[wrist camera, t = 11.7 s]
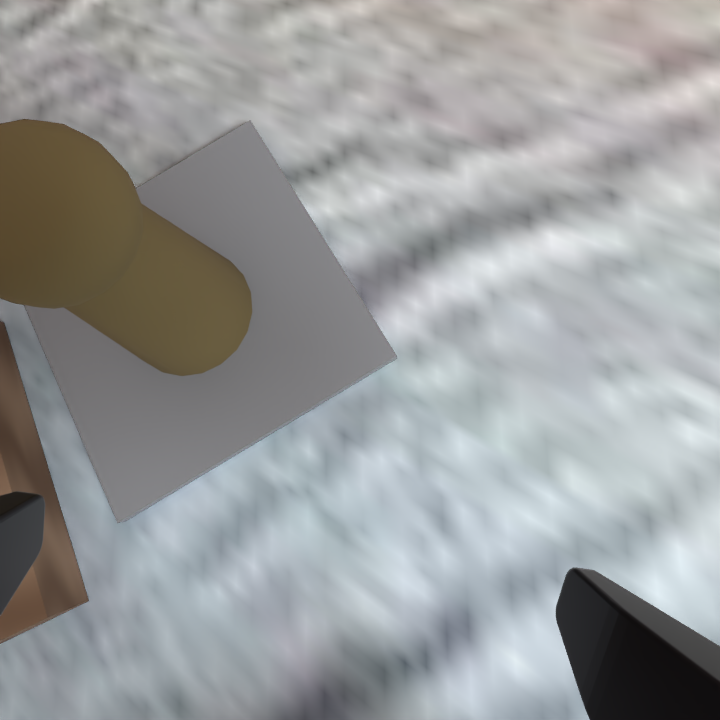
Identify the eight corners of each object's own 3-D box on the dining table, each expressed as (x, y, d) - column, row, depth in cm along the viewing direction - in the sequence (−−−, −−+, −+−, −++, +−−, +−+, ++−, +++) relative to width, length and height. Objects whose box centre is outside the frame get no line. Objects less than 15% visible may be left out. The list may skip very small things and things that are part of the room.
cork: (102, 325, 24) (-157, 211, 13) (185, 226, 24) (1, 41, 14) (193, 403, 23) (-12, 348, 12) (279, 297, 23) (156, 154, 12)
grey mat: (397, 358, 23) (396, 355, 22) (125, 521, 23) (117, 522, 22) (254, 127, 26) (250, 120, 25) (16, 269, 26) (7, 265, 25)
